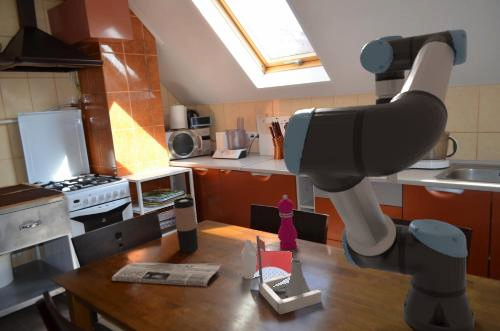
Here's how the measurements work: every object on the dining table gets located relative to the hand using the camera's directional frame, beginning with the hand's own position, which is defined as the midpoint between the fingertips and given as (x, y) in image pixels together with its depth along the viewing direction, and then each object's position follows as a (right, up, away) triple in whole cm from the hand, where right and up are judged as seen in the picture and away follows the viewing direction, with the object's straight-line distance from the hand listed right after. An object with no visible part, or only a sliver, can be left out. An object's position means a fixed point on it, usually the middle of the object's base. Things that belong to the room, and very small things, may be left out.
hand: (391, 182), depth 105 cm
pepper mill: (-25, -26, +37) cm, 52 cm away
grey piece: (-39, -31, +16) cm, 52 cm away
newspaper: (-67, -33, +21) cm, 77 cm away
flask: (-26, -32, +1) cm, 41 cm away
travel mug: (-64, -28, +43) cm, 82 cm away
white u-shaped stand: (-28, -32, +1) cm, 43 cm away
